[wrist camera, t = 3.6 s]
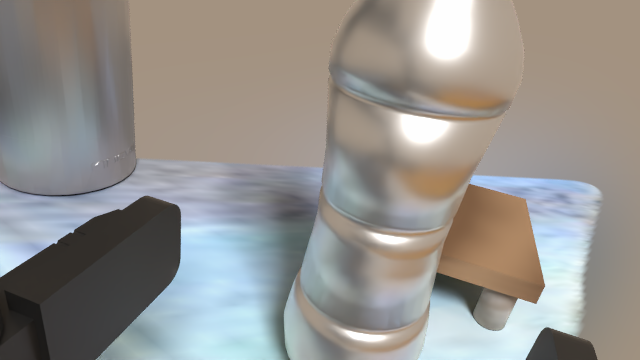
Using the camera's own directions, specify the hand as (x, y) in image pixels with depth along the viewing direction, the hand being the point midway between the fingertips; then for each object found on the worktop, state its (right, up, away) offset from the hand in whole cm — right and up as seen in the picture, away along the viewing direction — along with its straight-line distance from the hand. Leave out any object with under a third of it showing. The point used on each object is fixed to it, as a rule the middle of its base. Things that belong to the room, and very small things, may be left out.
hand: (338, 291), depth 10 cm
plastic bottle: (+1, -6, +12) cm, 14 cm away
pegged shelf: (+7, -3, +20) cm, 21 cm away
